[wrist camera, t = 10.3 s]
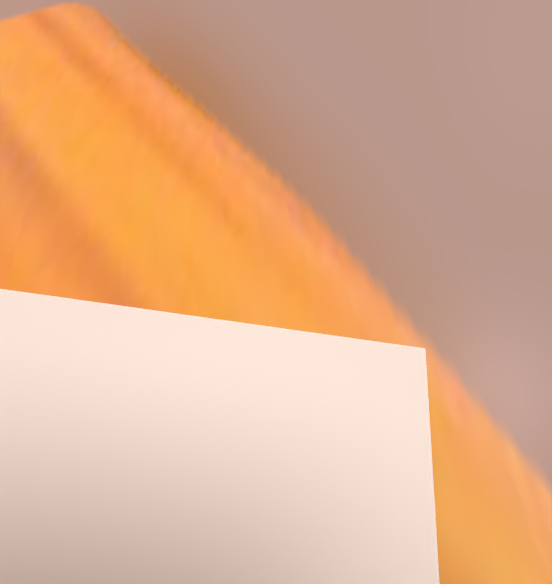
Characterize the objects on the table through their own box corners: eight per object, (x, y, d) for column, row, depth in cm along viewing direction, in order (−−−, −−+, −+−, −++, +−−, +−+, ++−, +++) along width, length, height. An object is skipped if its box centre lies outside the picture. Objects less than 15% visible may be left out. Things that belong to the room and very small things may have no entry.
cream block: (270, 654, 13) (501, 1603, 2) (80, 633, 13) (-950, 1556, 2) (288, 453, 16) (425, 348, 5) (131, 433, 15) (-122, 271, 4)
